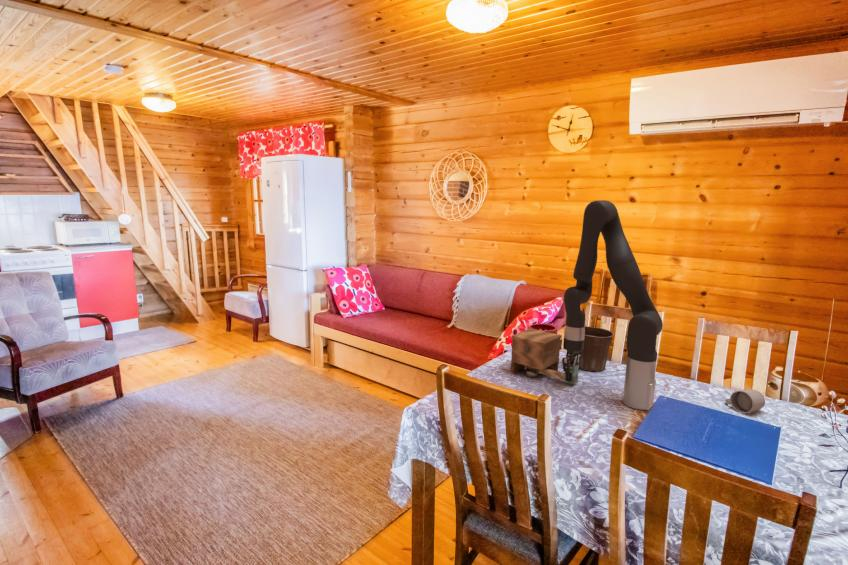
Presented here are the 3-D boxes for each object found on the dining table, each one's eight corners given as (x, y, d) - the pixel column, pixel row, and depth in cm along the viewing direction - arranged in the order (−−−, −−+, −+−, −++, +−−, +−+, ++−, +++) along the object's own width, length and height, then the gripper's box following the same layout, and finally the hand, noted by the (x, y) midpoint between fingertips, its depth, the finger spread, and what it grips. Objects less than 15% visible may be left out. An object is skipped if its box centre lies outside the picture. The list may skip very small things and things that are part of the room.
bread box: (558, 371, 188) (561, 335, 185) (541, 383, 175) (544, 343, 173) (527, 363, 197) (529, 328, 194) (508, 373, 185) (510, 336, 182)
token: (539, 375, 184) (539, 369, 183) (536, 379, 179) (536, 373, 179) (527, 372, 186) (527, 367, 186) (523, 376, 182) (524, 370, 181)
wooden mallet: (577, 381, 175) (579, 364, 174) (573, 384, 172) (574, 367, 171) (527, 367, 189) (528, 351, 188) (522, 370, 186) (523, 354, 185)
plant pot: (616, 367, 194) (620, 331, 192) (601, 377, 183) (605, 339, 180) (580, 358, 205) (583, 324, 203) (564, 366, 194) (567, 330, 191)
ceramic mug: (765, 412, 153) (768, 391, 152) (751, 417, 150) (754, 395, 149) (733, 401, 163) (735, 381, 162) (719, 405, 159) (721, 384, 158)
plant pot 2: (538, 344, 224) (539, 321, 222) (560, 351, 214) (562, 327, 212) (521, 349, 216) (523, 325, 214) (544, 356, 206) (546, 331, 204)
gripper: (576, 343, 164) (572, 387, 167) (590, 335, 175) (587, 376, 178) (556, 338, 169) (553, 381, 172) (572, 331, 179) (569, 372, 182)
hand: (570, 379), depth 175 cm, fingers closed on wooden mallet, 4 cm apart
